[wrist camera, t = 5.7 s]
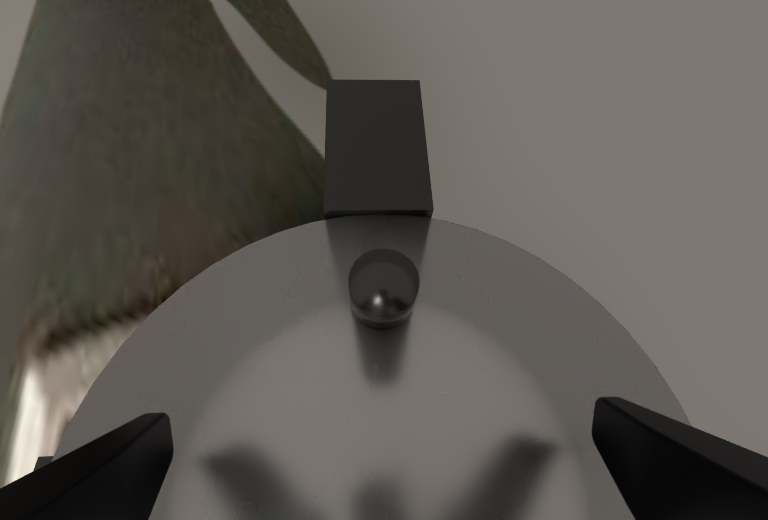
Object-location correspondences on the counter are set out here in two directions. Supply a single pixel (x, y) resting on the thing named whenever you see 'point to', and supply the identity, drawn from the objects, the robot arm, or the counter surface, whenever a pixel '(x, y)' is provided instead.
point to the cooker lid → (378, 359)
